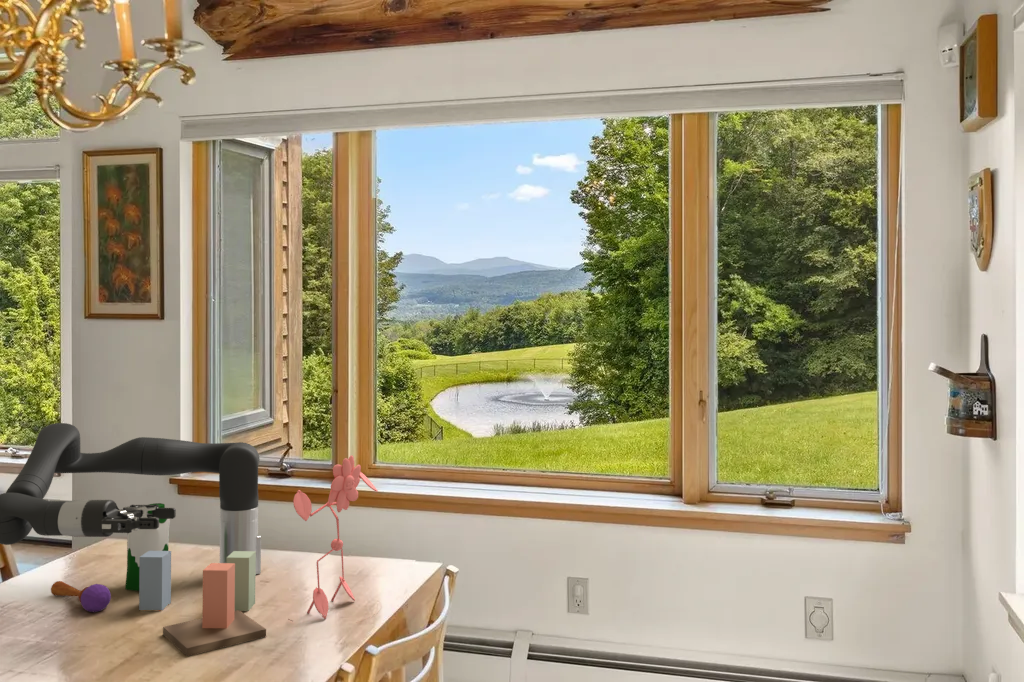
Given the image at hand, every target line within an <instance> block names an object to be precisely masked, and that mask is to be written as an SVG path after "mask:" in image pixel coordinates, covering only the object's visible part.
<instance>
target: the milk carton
mask: <svg viewBox="0 0 1024 682" xmlns="http://www.w3.org/2000/svg"><path fill="white" fill-rule="evenodd" d="M155 504H157V505H159V508H166V506H165V503H160V502H159V503H148V505H155ZM148 514H152V510H151V511H148ZM141 518H142V517H141ZM171 520H172V519H159V528H157V529H139V530H137V531H133V530H132V532H131V533H126V534H127V536H126V537H127V538H126V539H127V542H126V544H127V547H126V549H127V550H126V551H127V552H126V576H125V577H126V578H125V585H124V586H125V588H124V589H125V590H127V591H128V590H129V591H136V592H139V573H140V556H142V555H143V554H145V553H146V552H148V551H169V542H170V540H169V538H170V537H169V533H170V532H169V531H170V526H171V525H170V524H171Z"/></svg>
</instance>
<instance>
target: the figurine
mask: <svg viewBox="0 0 1024 682" xmlns="http://www.w3.org/2000/svg"><path fill="white" fill-rule="evenodd" d="M332 475H333V480H332V482H331V484H330V491H329V495H328V501H327V502H326V503H325V504H323V505H322V506H320V507H319V508H318V509H316V510H314V511H313V512H312V507H313V506H312V501H311V499H310V498H309V497H308V495H307V494H306V493H305V492H303V491H301V490H300V489H298V490H297V491H296V493H295V494H294V497H293V501H292V503H293V508H294V510H295V512H296V514H297V515H298V516H299V517H300V518H301V519H302V520H303V521H305V522H307V521H308V520H309V518H310V517H312V516H314V515H316V514H317V513H318V512H320V511H322V510H323V509H324V508H326V507H328V508H329V509H330V511H331V513H332V515H333V516H334V518H335V519H336V520H335V521H336V523H335V524H336V532H337V533H336V534H337V538H334V539H333V540H332V541H331V543H330V548H331V550H329V551H328V552H326V553H325V554H324V555H323V556H321V557H320V558H318V559H317V560H316V575H317V576H316V578H317V587H315V589H313V593H312V602H311V604H310V605H309V607H308V609H307V612H306V613H307V614H310V612H311V611H312V609H313V607H314V606H315V609H316V611H317V612H318V613H319V615H320V616H321V617H322V618H323V620H326V619H327V617H328V613H329V609H330V608H329V601H328V597H327V595H326V592H325V591H324V590H323V589H322V588H320V586H321V585H320V573H319V572H320V571H319V562H320V561H321V560H323V559H324V558H325V557H326V556H328V555H330V554H331V553H332V552H334V551H335V552H338V551H341V552H340V553H341V554H340V557H341V574H342V575H339V577H338V578H339V583H338V586H337V587H336V590H335V592H334V594H333V595H332V597H331V601H332V602H334V600H335V598H336V596H337V594H338V592H339V591H340V589H341V586H342V588H343V589H344V591H345V593H346V594H347V595H348V597H349V598H350V599H352V601H353V602H355V601H356V599H355V597H354V594H353V592H352V590H351V588H350V586H349V584H348V583H347V582H346V580H345V571H344V570H345V569H344V551H343V547H344V542H343V540H341V539H340V521H339V516H338V515H337V513H341V512H342V511H343V510H344V511H348V508H349V507H350V502H355V501H357V500H358V499H359V491H358V490H357V488H358V486H359V484H360V481H363V483H364V484H365V485H366V486H368V487H369V489H371V490H372V491H374V492H377V493H378V489H377V488H376V486H375V484H373V482H372V481H371V480H370V479H369V478H368V477H367V476H366V474H364V473H363V472H362V466H361V464H356V465H355V457H354V456H353V455H351V454H350V456H349V457H348V458H347V457H345V458H344V459H343V460H342V464H338V463H337V464H334V466H333V467H332ZM333 505H336V512H337V513H336V512H335V511H334V508H333V507H332V506H333ZM287 620H288V621H291V622H293V620H292V619H289V618H287Z"/></svg>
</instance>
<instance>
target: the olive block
mask: <svg viewBox="0 0 1024 682" xmlns="http://www.w3.org/2000/svg"><path fill="white" fill-rule="evenodd" d="M227 563H235V611H237V610H239V611H241V612H249V611H250V610H251V609H252V608H253V607H254V606H255V604H256V575H257V574H256V551H233V552H232V553H231V554H230V555H229V556H228V557H227Z"/></svg>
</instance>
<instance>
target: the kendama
mask: <svg viewBox="0 0 1024 682" xmlns="http://www.w3.org/2000/svg"><path fill="white" fill-rule="evenodd" d="M50 593H51V594H52V595H53V596H56V595H57V597H58V596H59V597H78V601H79V604H80V605H81V607H82V608H83V609H84V610H85V611H86V612H90V613H97V612H101V611H103V610H104V609H105V608H107V607H108V605H109V604H110V602H111V599H112V595H111V592H110V590H109V587H107V586H106V585H105V584H100V583H95V584H91V585H89V586H87V587H84V588H82V590H79V589H77V588H76V587H73V586H72V585H70V584H68V583H66V582H64V581H61V580H58V581H55V582H53V583H52V585H51V587H50Z"/></svg>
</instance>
